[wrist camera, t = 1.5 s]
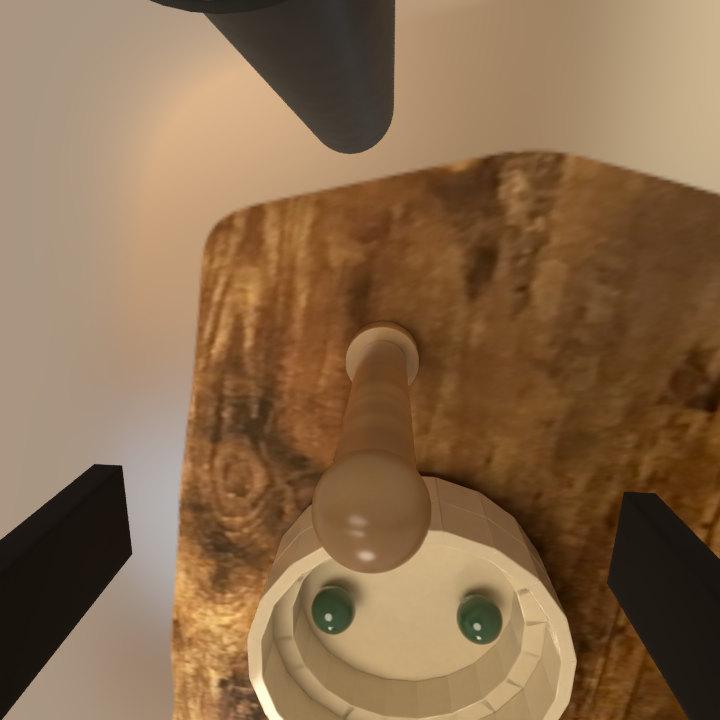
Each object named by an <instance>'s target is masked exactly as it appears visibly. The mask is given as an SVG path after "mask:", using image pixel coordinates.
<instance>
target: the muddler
mask: <svg viewBox="0 0 720 720" xmlns="http://www.w3.org/2000/svg"><path fill="white" fill-rule="evenodd" d="M345 366H346V371H347V374H348V376H349V378H350V380H351V382H352V387H351V391H350V395H349V399H348V403H347V407H346V411H345V415H344V419H343V423H342V428H341V432H340V436H339V440H338V444H337V448H336V452H335V456H334V460H333V463H332V464H331V465H330V466H329V467H328V468H327V469H326V471H325V472H324V473H323V475H322V476H321V478H320V480H319V481H318V484H317V486H316V489H315V491H314V495H313V500H312V522H313V526H314V530H315V533H316V535H317V538H318V540H319V542H320V543H321V545H322V547H323V548H324V549H325V551H326V552H327V553H328V554H329V555H330V556H331V557H332V558H333V559H334V560H335V561H337V562H338V563H339V564H341V565H342V566H344V567H346V568H348V569H350V570H353V571H356V572H360V573H367V574H377V573H384V572H388V571H391V570H394V569H396V568H398V567H400V566H402V565H403V564H405V563H406V562H408V561H409V560H410V559H411V558H412V557H413V556H414V555H415V554H416V553H417V552H418V550H419V549H420V548H421V546H422V545H423V543H424V541H425V539H426V536H427V534H428V531H429V528H430V523H431V500H430V495H429V492H428V489H427V486H426V484H425V482H424V480H423V478H422V477H421V475H420V474H419V472H418V471H417V470H416V459H415V449H414V438H413V428H412V418H411V407H410V397H409V386H410V385H411V384H412V382H413V381H414V379H415V378H416V375H417V373H418V369H419V356H418V351H417V346H416V343H415V341H414V339H413V337H412V336H411V335H410V333H409V332H408V331H407V330H406V329H404V328H403V327H401V326H400V325H398V324H395V323H392V322H387V321H378V322H373V323H370V324H368V325H365V326H364V327H362V328H361V329H360V330H358V331H357V333H356V334H355V335H354V336H353V338H352V340H351V341H350V344H349V347H348V350H347V353H346V359H345Z"/></svg>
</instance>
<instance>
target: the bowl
mask: <svg viewBox="0 0 720 720" xmlns="http://www.w3.org/2000/svg"><path fill="white" fill-rule="evenodd" d="M421 477H422V478H423V480H424V482H425V484H426V486H427V489H428V492H429V495H430V500H431V523H430V528H429V531H428V534H427V536H426V539H425V541H424V543H423V545H422V546H421V548H420V549H419V550H418V552H417V553H416V554H415V555H414V556H413V557H412V558H411V559H410V560H409V561H408V562H406V563H405V564H403V565H402V566H400V567H398V568H396V569H394V570H391V571H388V572H384V573H377V574H367V573H360V572H356V571H353V570H350V569H348V568H346V567H344V566H342V565H341V564H339V563H338V562H337V561H335V560H334V559H333V558H332V557H331V556H330V555H329V554H328V553H327V552H326V551H325V549H324V548H323V547H322V545H321V543H320V542H319V540H318V538H317V535H316V533H315V530H314V526H313V522H312V505H310V506H309V507H307V508H306V510H305V511H304V512H303V513H302V514H301V515H300V517H299V518H298V519H297V520H296V521H295V523H294V524H293V525H292V526H291V527H290V528H289V530H288V531H287V532H286V533H285V534H284V536H283V537H282V539H281V542H280V545H279V548H278V551H277V553H276V556H275V559H274V562H273V565H272V568H271V570H270V573H269V576H268V579H267V582H266V585H265V588H264V591H263V593H262V596H261V599H260V602H259V605H258V608H257V611H256V614H255V616H254V619H253V622H252V625H251V628H250V631H249V634H248V637H247V645H248V664H249V678H250V681H251V683H252V686H253V688H254V690H255V692H256V694H257V697H258V699H259V701H260V703H261V706H262V708H263V710H264V712H265V715H267V717H268V718H269V719H270V720H559V718H560V717H561V715H562V713H563V712H564V710H565V709H566V707H567V705H568V704H569V701H570V697H571V691H572V685H573V680H574V674H575V668H576V663H577V661H576V654H575V650H574V646H573V642H572V637H571V633H570V629H569V625H568V620H567V618H566V615H565V613H564V611H563V608H562V606H561V604H560V602H559V599H558V597H557V595H556V592H555V590H554V588H553V586H552V583H551V581H550V578H549V576H548V574H547V572H546V569H545V567H544V565H543V562H542V560H541V558H540V556H539V553H538V551H537V550H536V548H535V547H534V545H533V544H532V542H531V541H530V539H529V538H528V537H527V535H526V534H525V532H524V531H523V529H522V528H521V526H520V525H519V524H518V522H517V521H516V519H515V518H514V517H513V516H511V515H510V514H509V513H507V512H506V511H504V510H503V509H502V508H500V507H499V506H498V505H496V504H495V503H494V502H492V501H491V500H489V499H488V498H487V497H485V496H484V495H483V494H481V493H480V492H477V491H474V490H471V489H468V488H466V487H463V486H460V485H457V484H454V483H451V482H448V481H445V480H442V479H440V478H435V477H425V476H421ZM328 585H340V586H342V587H344V588H346V589H347V590H348V591H349V592H350V593H351V594H352V596H353V598H354V600H355V604H356V614H355V618H354V621H353V623H352V624H351V626H350V627H349V628H348V629H347V630H346V631H344V632H343V633H340V634H337V635H329V634H326V633H324V632H322V631H320V630H319V629H318V628H317V626H316V625H315V624H314V621H313V619H312V615H311V606H312V602H313V599H314V597H315V595H316V594H317V593H318V592H319V591H320V590H321V589H322V588H324V587H326V586H328ZM471 594H483V595H486V596H488V597H490V598H491V599H492V600H494V601H495V602H496V604H497V605H498V606H499V608H500V610H501V613H502V617H503V627H502V631H501V633H500V635H499V637H498V638H497V639H496V640H495V641H493V642H492V643H490V644H486V645H478V644H474V643H472V642H470V641H469V640H467V639H466V638H465V637H464V636H463V635H462V633H461V632H460V630H459V628H458V625H457V621H456V612H457V608H458V606H459V604H460V602H461V601H462V600H463V599H464V598H465V597H466V596H468V595H471Z"/></svg>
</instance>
